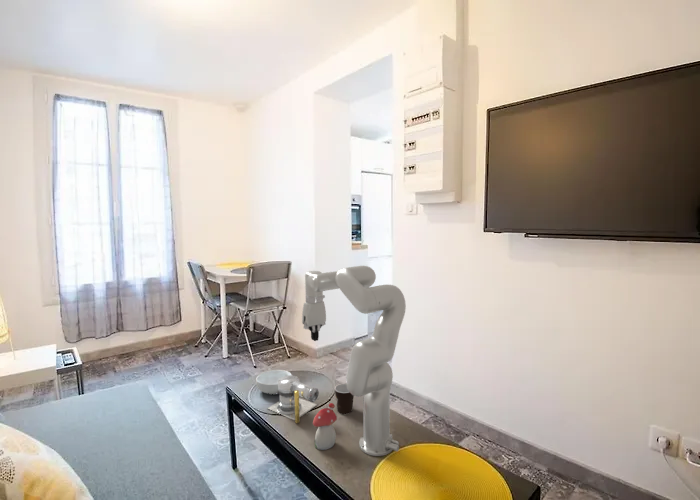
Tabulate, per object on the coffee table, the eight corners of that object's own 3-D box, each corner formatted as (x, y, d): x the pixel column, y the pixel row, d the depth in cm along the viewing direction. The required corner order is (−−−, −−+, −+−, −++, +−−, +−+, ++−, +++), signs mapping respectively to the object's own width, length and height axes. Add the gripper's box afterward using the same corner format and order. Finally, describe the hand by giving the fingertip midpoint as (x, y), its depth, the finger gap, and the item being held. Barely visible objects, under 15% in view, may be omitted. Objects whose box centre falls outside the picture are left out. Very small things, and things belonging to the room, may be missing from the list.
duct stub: (297, 425, 147) (296, 392, 145) (264, 411, 157) (263, 381, 156) (321, 407, 160) (321, 377, 159) (289, 395, 170) (289, 368, 169)
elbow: (273, 392, 157) (272, 379, 156) (289, 384, 164) (289, 372, 164) (305, 406, 145) (305, 393, 144) (321, 397, 152) (321, 384, 152)
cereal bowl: (298, 385, 181) (297, 371, 180) (282, 401, 165) (281, 386, 165) (267, 380, 186) (267, 367, 186) (249, 396, 171) (249, 381, 170)
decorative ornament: (334, 437, 139) (333, 399, 137) (340, 447, 133) (340, 408, 131) (310, 443, 135) (310, 404, 134) (315, 453, 129) (315, 413, 128)
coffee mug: (353, 416, 153) (352, 393, 152) (333, 414, 154) (332, 392, 153) (356, 402, 164) (356, 381, 163) (338, 400, 165) (337, 379, 164)
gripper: (323, 295, 167) (324, 334, 169) (294, 300, 158) (295, 341, 160) (333, 298, 161) (333, 338, 163) (303, 303, 152) (304, 346, 154)
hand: (314, 339), depth 161 cm, fingers closed
